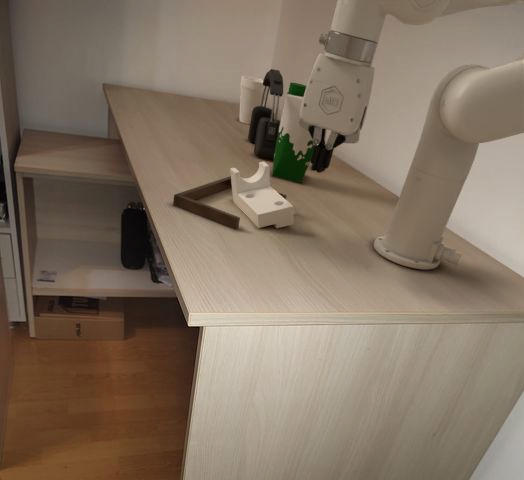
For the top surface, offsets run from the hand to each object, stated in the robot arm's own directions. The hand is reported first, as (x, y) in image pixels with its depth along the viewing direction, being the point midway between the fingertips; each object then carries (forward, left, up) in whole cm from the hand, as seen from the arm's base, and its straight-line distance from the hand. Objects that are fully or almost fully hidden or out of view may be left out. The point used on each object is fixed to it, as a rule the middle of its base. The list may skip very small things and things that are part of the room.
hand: (318, 170), depth 86 cm
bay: (+16, 0, -11) cm, 20 cm away
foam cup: (+53, -76, -12) cm, 94 cm away
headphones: (+33, -47, -12) cm, 59 cm away
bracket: (+10, 0, -12) cm, 15 cm away
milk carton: (+17, -31, -12) cm, 37 cm away
